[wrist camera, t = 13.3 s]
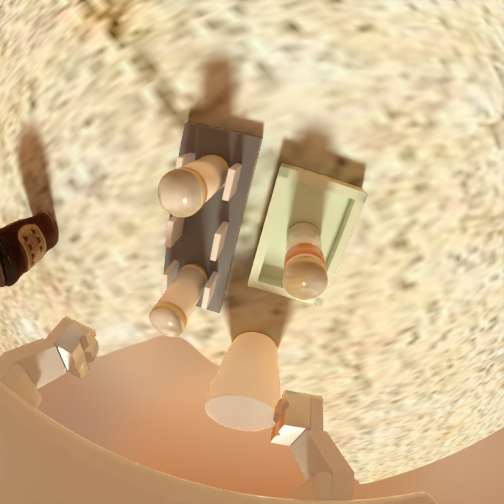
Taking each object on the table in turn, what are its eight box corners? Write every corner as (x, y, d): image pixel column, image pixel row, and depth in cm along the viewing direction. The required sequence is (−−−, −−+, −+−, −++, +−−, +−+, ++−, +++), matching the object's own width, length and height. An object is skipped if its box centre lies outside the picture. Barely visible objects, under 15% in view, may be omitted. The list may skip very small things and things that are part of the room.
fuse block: (190, 122, 28) (171, 123, 23) (262, 138, 27) (256, 141, 23) (166, 288, 38) (151, 310, 33) (221, 306, 38) (212, 330, 33)
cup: (286, 367, 41) (280, 433, 31) (229, 366, 43) (212, 428, 32) (283, 324, 38) (276, 396, 27) (219, 324, 39) (195, 390, 28)
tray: (281, 162, 28) (280, 166, 26) (362, 188, 28) (367, 193, 26) (250, 274, 35) (246, 285, 33) (319, 294, 35) (321, 306, 32)
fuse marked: (291, 217, 30) (290, 256, 22) (324, 226, 30) (334, 268, 22) (282, 247, 32) (277, 293, 24) (313, 256, 32) (318, 304, 24)
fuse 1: (199, 151, 28) (161, 165, 20) (233, 158, 27) (207, 175, 19) (193, 184, 29) (155, 210, 21) (226, 192, 29) (199, 222, 21)
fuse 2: (181, 259, 33) (149, 302, 25) (210, 267, 33) (185, 314, 25) (178, 283, 35) (149, 329, 27) (206, 292, 35) (182, 341, 27)
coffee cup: (59, 204, 35) (-4, 240, 23) (69, 254, 38) (15, 298, 27) (28, 204, 36) (-28, 235, 24) (38, 248, 39) (-12, 286, 28)
